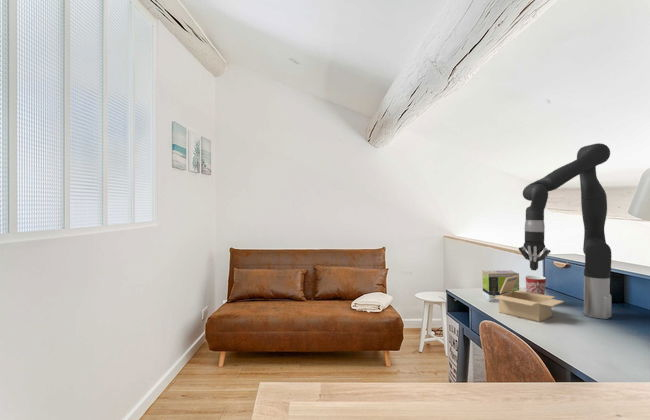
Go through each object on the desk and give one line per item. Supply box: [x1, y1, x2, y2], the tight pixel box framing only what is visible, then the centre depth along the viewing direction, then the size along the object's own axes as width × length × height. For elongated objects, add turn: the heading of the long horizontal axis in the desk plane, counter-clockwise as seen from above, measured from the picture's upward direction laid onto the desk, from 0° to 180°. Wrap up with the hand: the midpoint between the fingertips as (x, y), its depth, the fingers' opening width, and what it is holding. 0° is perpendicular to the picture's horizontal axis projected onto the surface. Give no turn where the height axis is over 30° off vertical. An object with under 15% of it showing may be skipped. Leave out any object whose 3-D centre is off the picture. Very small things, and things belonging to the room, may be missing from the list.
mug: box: [525, 275, 547, 295], centre depth 185 cm, size 13×9×14 cm
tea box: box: [482, 269, 520, 303], centre depth 192 cm, size 15×10×15 cm, turn 84°
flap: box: [500, 275, 518, 294], centre depth 171 cm, size 1×11×8 cm, turn 128°
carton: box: [495, 289, 565, 323], centre depth 164 cm, size 22×22×8 cm
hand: (533, 270), depth 163 cm, fingers closed
